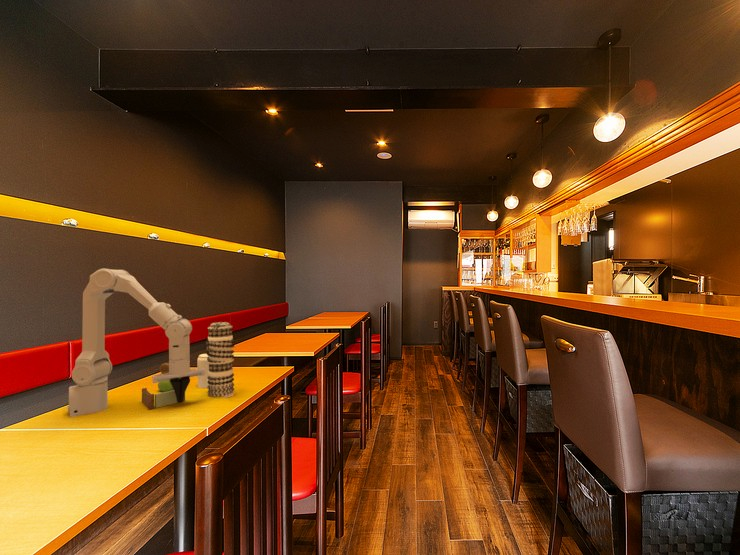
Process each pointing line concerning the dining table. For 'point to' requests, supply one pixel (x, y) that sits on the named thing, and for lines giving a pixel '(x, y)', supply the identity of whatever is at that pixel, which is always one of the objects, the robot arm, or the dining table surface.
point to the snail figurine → (165, 385)
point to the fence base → (147, 399)
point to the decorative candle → (220, 360)
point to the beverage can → (203, 364)
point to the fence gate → (166, 398)
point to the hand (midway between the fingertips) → (179, 401)
